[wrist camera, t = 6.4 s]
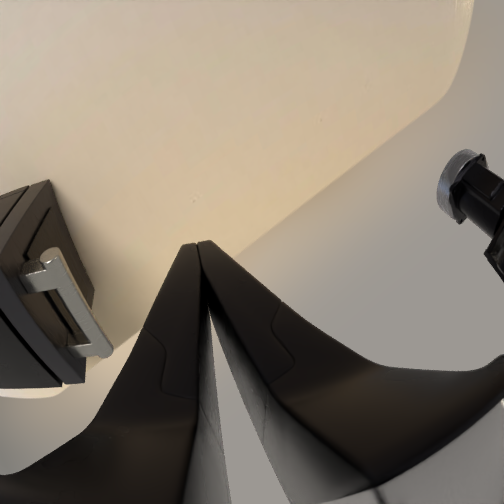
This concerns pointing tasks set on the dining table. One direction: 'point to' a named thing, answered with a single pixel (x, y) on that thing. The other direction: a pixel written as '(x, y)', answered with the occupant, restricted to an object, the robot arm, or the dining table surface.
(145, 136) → the dining table surface
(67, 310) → the oven door
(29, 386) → the oven
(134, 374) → the robot arm
